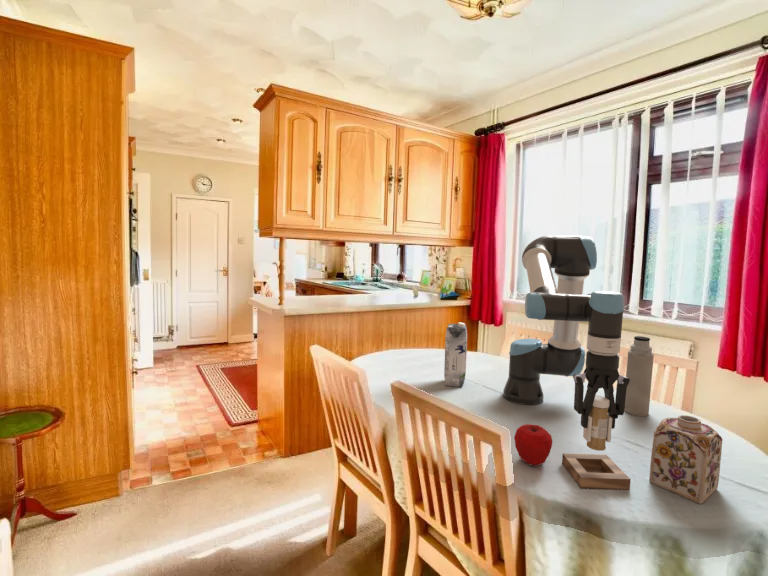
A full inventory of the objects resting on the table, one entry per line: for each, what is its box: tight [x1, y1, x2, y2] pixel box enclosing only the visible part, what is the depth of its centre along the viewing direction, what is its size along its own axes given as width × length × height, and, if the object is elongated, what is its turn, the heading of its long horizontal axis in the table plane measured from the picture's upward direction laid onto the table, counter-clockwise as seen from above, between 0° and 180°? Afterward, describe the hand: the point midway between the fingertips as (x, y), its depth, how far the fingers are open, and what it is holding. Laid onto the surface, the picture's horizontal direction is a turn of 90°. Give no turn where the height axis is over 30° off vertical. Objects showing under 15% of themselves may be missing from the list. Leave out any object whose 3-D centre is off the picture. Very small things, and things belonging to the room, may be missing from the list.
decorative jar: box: [648, 415, 723, 505], centre depth 105 cm, size 12×12×18 cm
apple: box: [513, 423, 553, 467], centre depth 115 cm, size 10×10×11 cm
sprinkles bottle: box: [586, 394, 610, 452], centre depth 108 cm, size 5×5×14 cm
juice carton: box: [443, 321, 468, 388], centre depth 179 cm, size 9×10×27 cm
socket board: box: [561, 452, 631, 492], centre depth 109 cm, size 12×12×3 cm
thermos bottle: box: [624, 335, 654, 417], centre depth 151 cm, size 8×8×28 cm
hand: (596, 439), depth 108 cm, fingers closed on sprinkles bottle, 4 cm apart
